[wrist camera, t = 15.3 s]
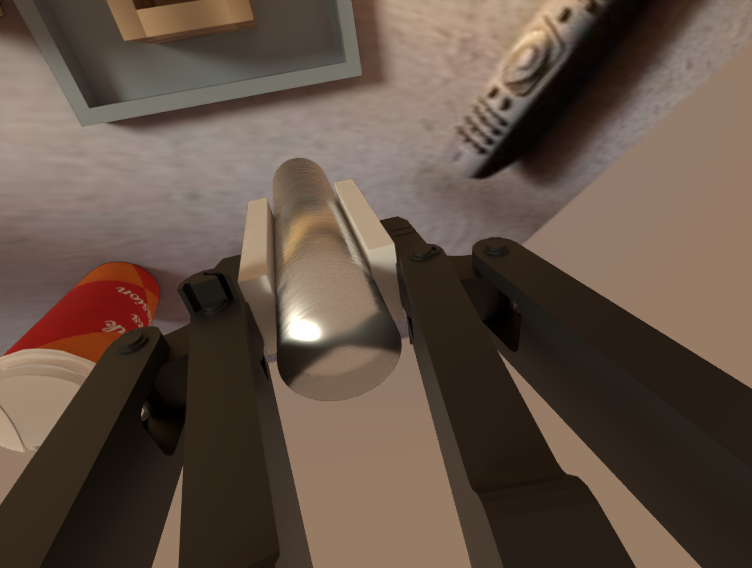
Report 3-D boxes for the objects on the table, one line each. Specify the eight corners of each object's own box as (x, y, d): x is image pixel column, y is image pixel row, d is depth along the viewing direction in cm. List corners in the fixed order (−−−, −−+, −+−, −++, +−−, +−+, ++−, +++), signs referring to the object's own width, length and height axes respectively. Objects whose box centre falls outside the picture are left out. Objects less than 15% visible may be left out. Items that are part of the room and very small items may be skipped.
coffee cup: (169, 329, 38) (119, 460, 26) (73, 318, 35) (-36, 460, 23) (177, 258, 35) (122, 371, 22) (70, 239, 32) (-61, 358, 19)
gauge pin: (281, 217, 21) (296, 414, 10) (265, 164, 19) (259, 325, 8) (332, 205, 21) (407, 381, 10) (321, 152, 20) (394, 290, 8)
